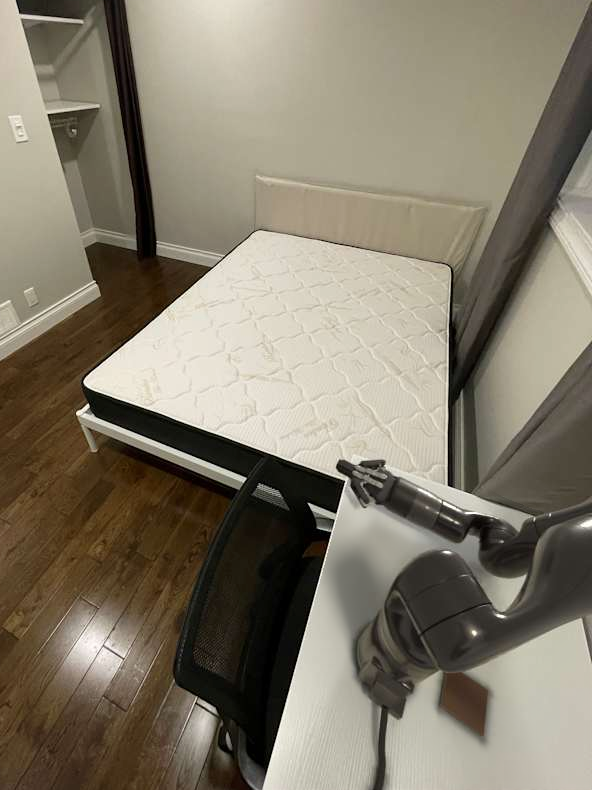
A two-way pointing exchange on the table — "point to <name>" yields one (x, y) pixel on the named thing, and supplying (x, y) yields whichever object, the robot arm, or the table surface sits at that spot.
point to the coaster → (465, 701)
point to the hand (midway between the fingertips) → (337, 463)
